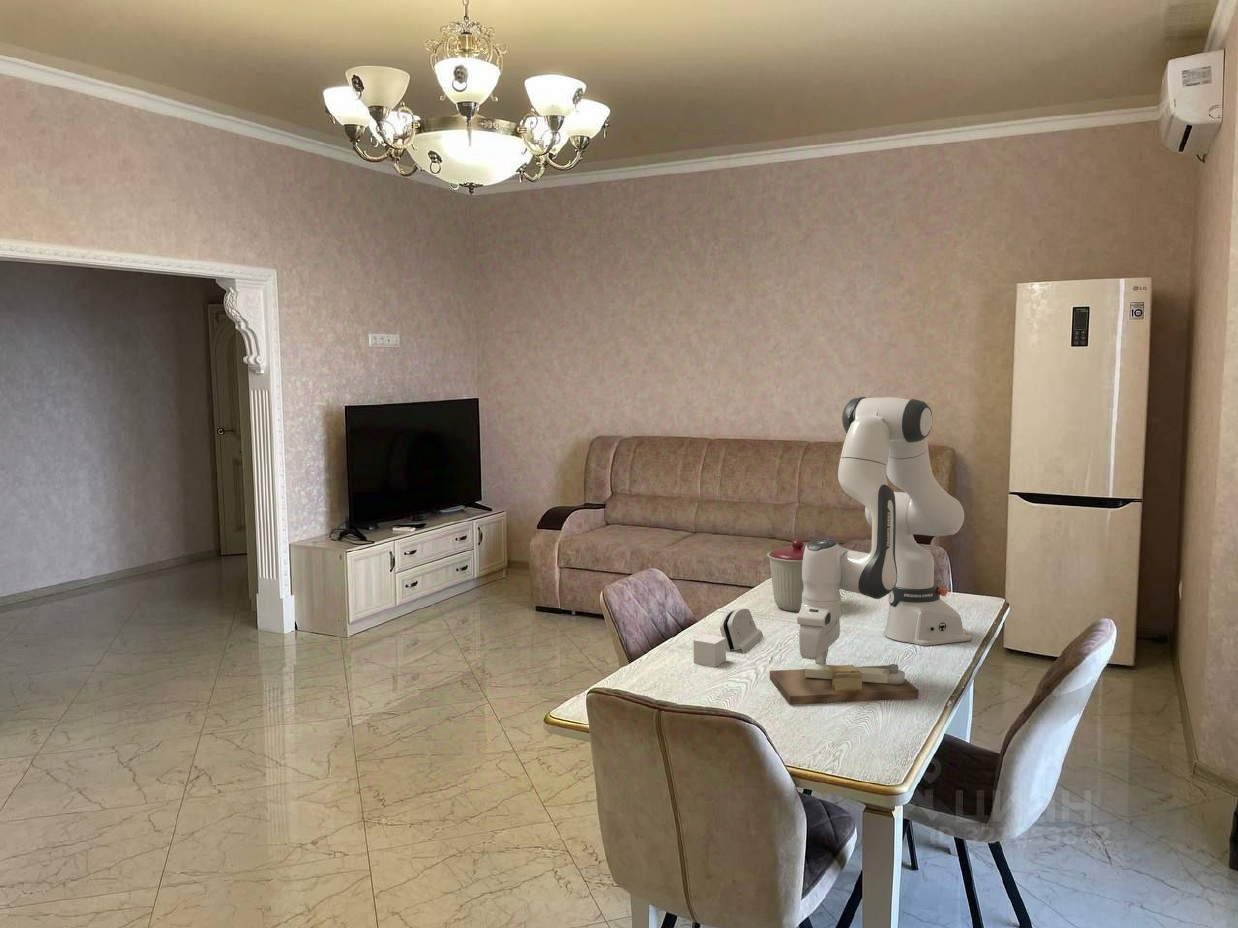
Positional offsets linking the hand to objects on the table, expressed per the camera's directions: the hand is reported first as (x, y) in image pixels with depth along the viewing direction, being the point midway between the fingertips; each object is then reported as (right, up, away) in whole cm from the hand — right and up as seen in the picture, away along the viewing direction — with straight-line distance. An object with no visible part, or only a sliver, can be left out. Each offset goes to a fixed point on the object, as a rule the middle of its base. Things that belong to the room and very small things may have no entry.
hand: (820, 667), depth 215 cm
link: (+7, -1, -5) cm, 8 cm away
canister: (+7, +4, +65) cm, 65 cm away
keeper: (+3, -2, -10) cm, 11 cm away
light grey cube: (-25, -2, +15) cm, 29 cm away
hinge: (-15, -1, +30) cm, 33 cm away
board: (+4, -4, -5) cm, 7 cm away
